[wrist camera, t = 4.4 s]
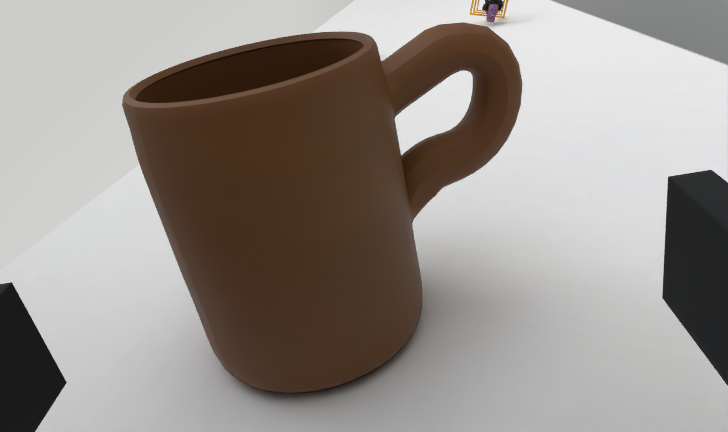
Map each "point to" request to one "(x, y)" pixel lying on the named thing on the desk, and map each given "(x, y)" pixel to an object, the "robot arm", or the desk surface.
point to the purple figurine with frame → (490, 9)
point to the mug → (311, 189)
